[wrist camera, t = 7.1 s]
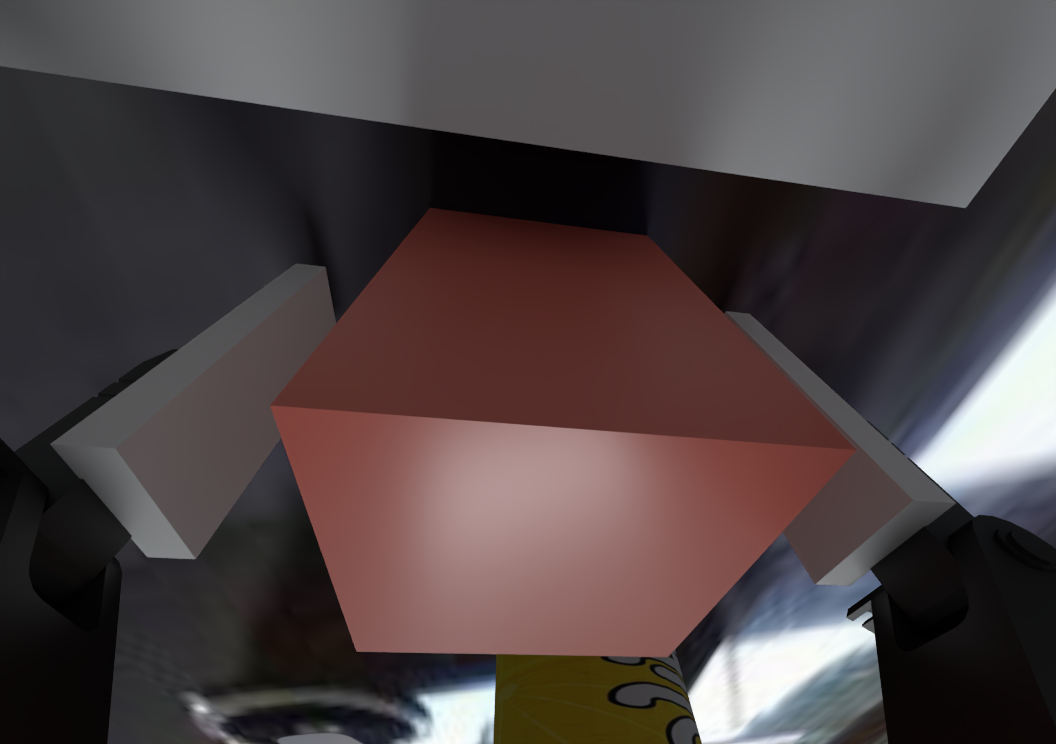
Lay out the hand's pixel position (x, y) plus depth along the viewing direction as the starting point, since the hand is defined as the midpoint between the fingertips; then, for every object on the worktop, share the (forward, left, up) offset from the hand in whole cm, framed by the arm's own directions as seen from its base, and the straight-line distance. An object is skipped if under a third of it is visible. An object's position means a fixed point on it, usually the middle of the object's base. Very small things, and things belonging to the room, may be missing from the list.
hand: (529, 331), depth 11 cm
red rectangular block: (0, 0, -1) cm, 1 cm away
